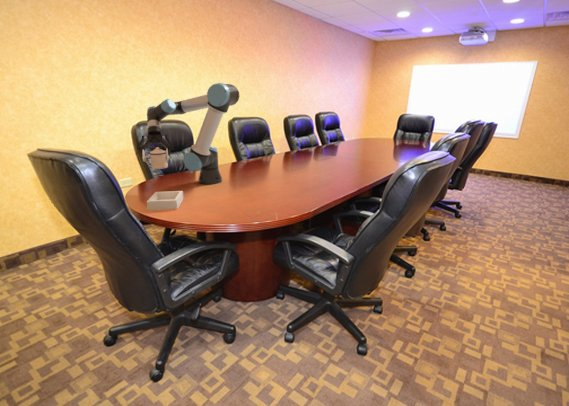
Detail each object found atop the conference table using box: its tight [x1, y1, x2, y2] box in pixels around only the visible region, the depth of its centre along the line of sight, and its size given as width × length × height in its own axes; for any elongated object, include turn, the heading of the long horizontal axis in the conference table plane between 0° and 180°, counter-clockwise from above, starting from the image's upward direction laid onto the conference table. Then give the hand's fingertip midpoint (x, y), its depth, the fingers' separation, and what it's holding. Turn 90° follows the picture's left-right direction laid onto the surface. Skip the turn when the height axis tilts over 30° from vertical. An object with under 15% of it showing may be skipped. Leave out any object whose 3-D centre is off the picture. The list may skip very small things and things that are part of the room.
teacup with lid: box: [145, 146, 169, 170], centre depth 176 cm, size 12×9×12 cm
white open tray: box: [146, 190, 184, 211], centre depth 160 cm, size 14×17×4 cm
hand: (155, 159), depth 175 cm, fingers closed on teacup with lid, 12 cm apart
